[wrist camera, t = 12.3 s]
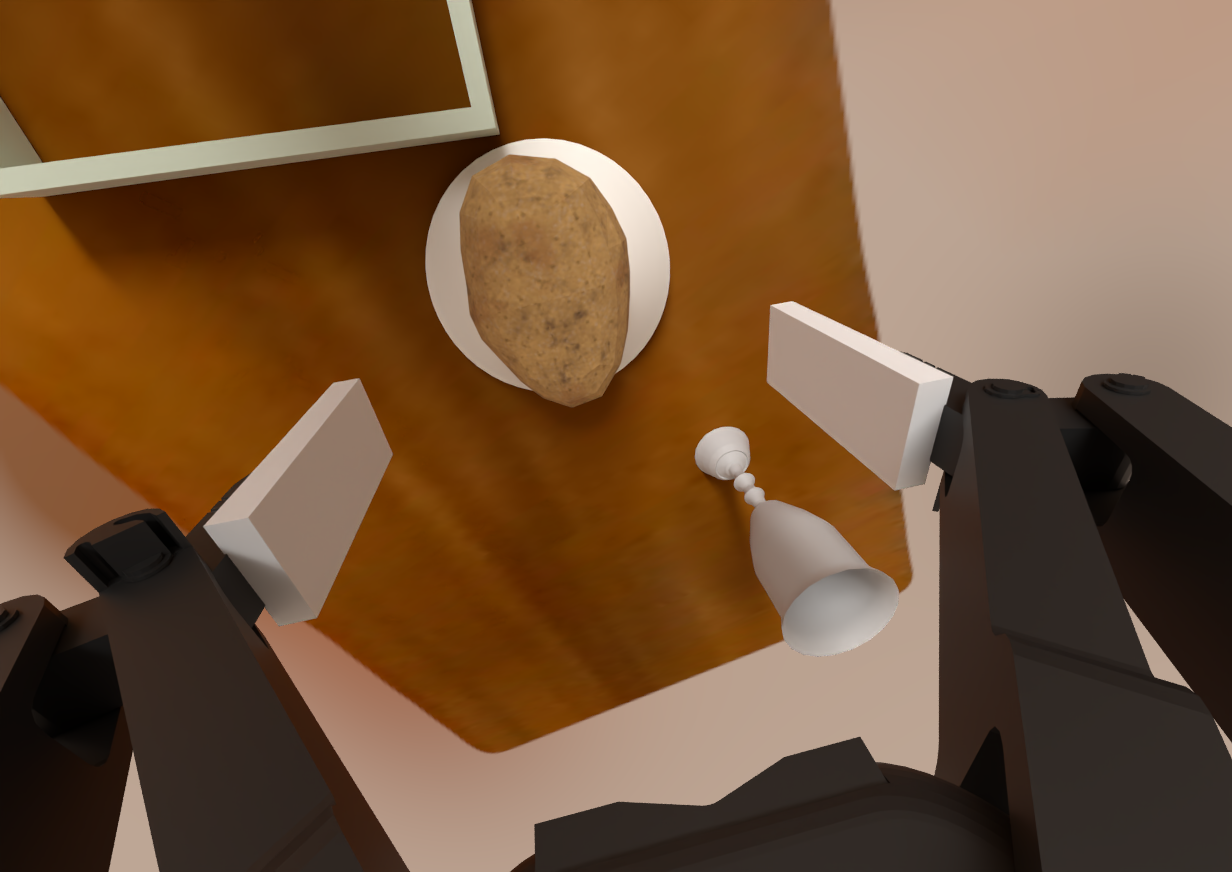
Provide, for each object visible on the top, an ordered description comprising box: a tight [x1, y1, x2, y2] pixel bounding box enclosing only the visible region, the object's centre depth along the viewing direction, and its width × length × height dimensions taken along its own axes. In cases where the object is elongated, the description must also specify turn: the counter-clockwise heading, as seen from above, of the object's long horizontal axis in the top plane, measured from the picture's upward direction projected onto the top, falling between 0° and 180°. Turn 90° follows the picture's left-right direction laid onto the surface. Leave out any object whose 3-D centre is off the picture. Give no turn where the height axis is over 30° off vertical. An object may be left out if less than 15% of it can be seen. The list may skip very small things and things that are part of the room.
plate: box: [425, 138, 670, 390], centre depth 31 cm, size 16×16×1 cm
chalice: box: [695, 427, 899, 657], centre depth 34 cm, size 7×7×18 cm
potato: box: [459, 154, 630, 407], centre depth 27 cm, size 10×14×8 cm
